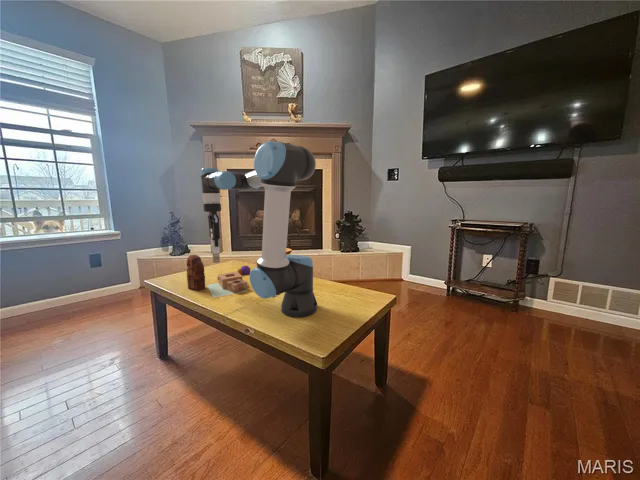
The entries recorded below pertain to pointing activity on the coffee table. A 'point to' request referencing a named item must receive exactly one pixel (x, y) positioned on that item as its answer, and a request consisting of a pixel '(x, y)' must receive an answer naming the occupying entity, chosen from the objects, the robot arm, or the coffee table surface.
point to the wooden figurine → (195, 273)
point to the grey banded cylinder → (215, 256)
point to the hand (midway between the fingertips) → (215, 252)
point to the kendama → (243, 270)
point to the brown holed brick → (237, 285)
